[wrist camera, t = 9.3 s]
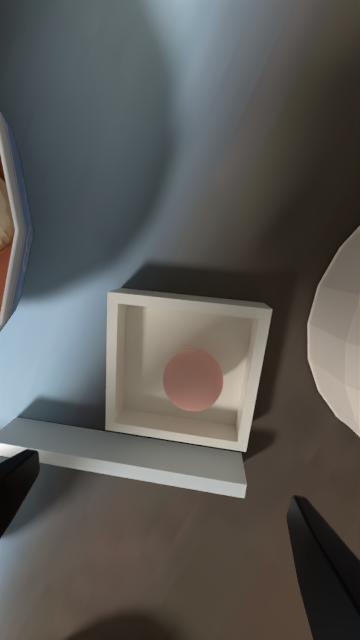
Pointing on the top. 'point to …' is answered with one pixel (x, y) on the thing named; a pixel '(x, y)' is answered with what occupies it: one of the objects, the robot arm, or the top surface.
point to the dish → (170, 339)
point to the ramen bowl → (12, 224)
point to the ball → (193, 380)
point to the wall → (127, 456)
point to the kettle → (338, 334)
